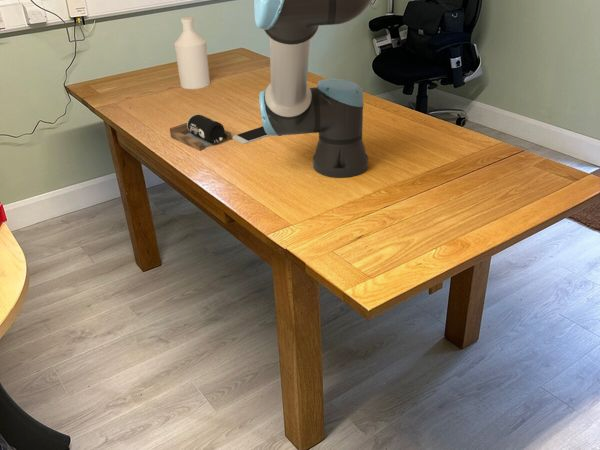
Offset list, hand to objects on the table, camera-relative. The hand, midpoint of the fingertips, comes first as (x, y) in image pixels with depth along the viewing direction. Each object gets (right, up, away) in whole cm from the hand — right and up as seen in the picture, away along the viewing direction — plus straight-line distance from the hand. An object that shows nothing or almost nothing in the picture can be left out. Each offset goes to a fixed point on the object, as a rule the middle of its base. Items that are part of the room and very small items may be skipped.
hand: (281, 42), depth 162 cm
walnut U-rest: (-25, -24, +19) cm, 40 cm away
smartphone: (-8, -23, +21) cm, 32 cm away
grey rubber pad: (-25, -24, +19) cm, 40 cm away
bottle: (-36, +4, +67) cm, 77 cm away
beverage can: (-19, -23, +12) cm, 33 cm away
